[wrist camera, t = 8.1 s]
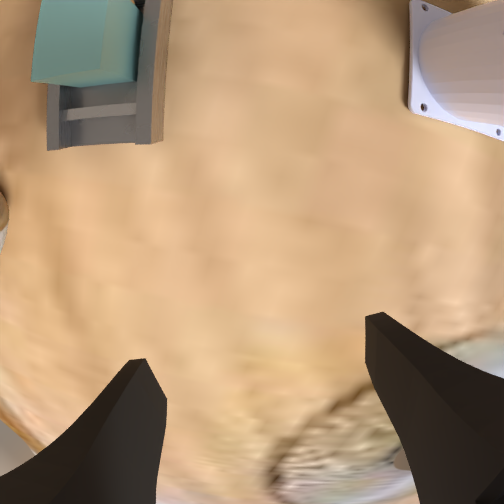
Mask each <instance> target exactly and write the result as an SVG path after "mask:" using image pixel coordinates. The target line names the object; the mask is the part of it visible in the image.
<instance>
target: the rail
mask: <svg viewBox="0 0 504 504" xmlns="http://www.w3.org/2000/svg"><path fill="white" fill-rule="evenodd" d="M133 1H134V2H135V4H134V5H135V6H136V7H137V8H138V9H139V10H140V11H141V12H142V13H143V19H142V27H141V37H140V47H139V58H138V71H137V81H136V82H124V83H113V84H104V85H96V86H88V87H81V88H79V87H72V86H65V85H57V84H49V83H48V94H47V151H49V150H58V149H63V148H67V147H72V146H83V145H97V144H114V143H135V145H136V144H153V143H156V142H160V141H163V123H164V98H165V80H166V65H167V53H168V41H169V31H170V21H171V12H172V4H173V0H133Z"/></svg>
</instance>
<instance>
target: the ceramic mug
mask: <svg viewBox="0 0 504 504" xmlns="http://www.w3.org/2000/svg"><path fill="white" fill-rule="evenodd" d="M8 221H9V209H8V205H7V202H6V200H5V198H4V196H3V195H2V193H1V192H0V253H1V250H2V248H3V245H4V241H5V238H6V234H7V228H8Z"/></svg>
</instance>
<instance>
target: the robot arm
mask: <svg viewBox="0 0 504 504" xmlns="http://www.w3.org/2000/svg"><path fill="white" fill-rule="evenodd" d="M422 6H423V7H424V8H425V10H426V11H425V10H423V8H422ZM409 10H410V71H409V92H408V108H409V110H410V111H411V112H412V113H414V114H418V115H422V116H426V117H430V118H433V119H437V120H440V121H444V122H447V123H451V124H454V125H457V126H460V127H464V128H467V129H470V130H473V131H476V132H479V133H482V134H485V135H487V136H490V137H493V138H496V139H498V140H501V141H504V0H495V1H492V2H488V3H485V4H481V5H478V6H475V7H472V8H469V9H466V10H463V11H460V12H457V13H454V14H453V13H450V12H448V11H446V10H444V9H441V8H439V7H437V6H434V5H432V4H429V3H427V2H424V1H422V0H411V1H410V3H409ZM421 104H423V106H424V110H423V111H422V110H421V107H420V106H421ZM496 131H497V133H496ZM365 329H366V344H365V363H366V366H367V369H368V372H369V375H370V377H371V380H372V383H373V386H374V388H375V390H376V392H377V394H378V396H379V398H380V400H381V402H382V404H383V406H384V408H385V410H386V412H387V414H388V416H389V418H390V420H391V422H392V424H393V426H394V428H395V430H396V432H397V434H398V436H399V438H400V441H401V443H402V445H403V448H404V450H405V454H406V456H407V460H408V462H409V466H410V468H411V472H412V475H413V479H414V482H415V486H416V489H417V493H418V497H419V501H420V504H504V378H501V377H498V376H495V375H492V374H489V373H487V372H484V371H482V370H480V369H477V368H475V367H473V366H471V365H469V364H466V363H464V362H462V361H460V360H458V359H456V358H455V357H453V356H451V355H449V354H447V353H446V352H444V351H442V350H440V349H439V348H437V347H435V346H434V345H432V344H430V343H429V342H427V341H426V340H424V339H423V338H421V337H419V336H418V335H416V334H415V333H413V332H412V331H410V330H409V329H408V328H406V327H405V326H403V325H402V324H400V323H399V322H397V321H396V320H394V319H393V318H392V317H390V316H389V315H387V314H386V313H384V312H380V313H376V314H372V315H369V316H365ZM166 417H167V398H166V396H165V394H164V393H163V391H162V389H161V387H160V385H159V383H158V382H157V380H156V378H155V376H154V374H153V372H152V370H151V368H150V366H149V365H148V363H147V361H146V359H145V358H144V359H135V360H129V361H128V362H127V363H126V364H125V365H124V366H123V368H122V369H121V370H120V371H119V372H118V373H117V374H116V376H115V377H114V378H113V379H112V380H111V382H110V383H109V384H108V385H107V386H106V387H105V389H104V390H103V391H102V392H101V393H100V395H99V396H98V397H97V398H96V399H95V400H94V402H93V403H92V404H91V405H90V406H89V407H88V408H87V409H86V410H85V411H84V412H83V413H82V415H81V416H80V417H79V418H78V419H77V420H76V421H75V422H74V423H73V424H72V425H71V426H70V427H69V428H68V429H67V430H66V431H65V432H64V433H63V434H62V435H60V436H59V437H58V438H57V439H56V440H55V441H54V442H52V443H51V444H50V445H49V446H47V447H46V448H45V449H43V450H42V451H41V452H39V453H38V454H37V455H35V456H34V457H33V458H31V459H30V460H28V461H27V462H25V463H24V464H22V465H20V466H19V467H17V468H15V469H14V470H12V471H10V472H8V473H7V474H4V475H2V476H0V504H156V484H157V476H158V470H159V464H160V458H161V452H162V446H163V440H164V435H165V429H166Z"/></svg>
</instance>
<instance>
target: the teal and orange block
mask: <svg viewBox="0 0 504 504" xmlns="http://www.w3.org/2000/svg"><path fill="white" fill-rule="evenodd" d="M134 4H135V2H134V1H133V0H42V2H41V7H40V13H39V18H38V24H37V30H36V37H35V44H34V52H33V62H32V73H31V82H39V83H49V84H57V85H65V86H72V87H79V88H81V87H88V86H96V85H104V84H113V83H124V82H136V81H137V71H138V58H139V47H140V37H141V27H142V19H143V13H142V12H141V11H140V10H139V9H138V8H137V7H136V6H135V5H134Z"/></svg>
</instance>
